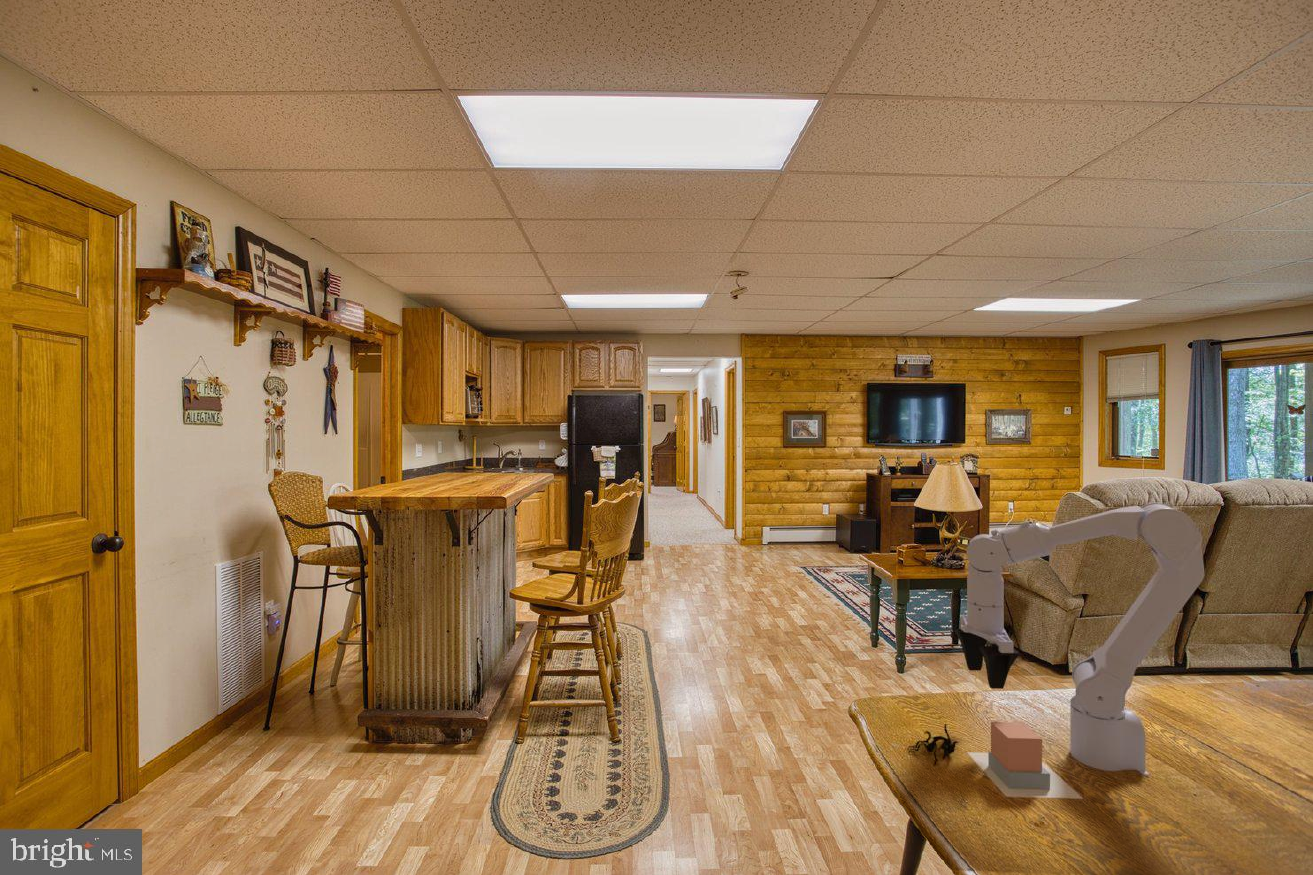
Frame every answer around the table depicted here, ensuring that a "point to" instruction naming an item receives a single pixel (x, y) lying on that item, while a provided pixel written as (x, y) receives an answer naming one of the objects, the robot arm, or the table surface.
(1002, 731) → the top brick
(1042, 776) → the base brick
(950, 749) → the creature
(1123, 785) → the table surface
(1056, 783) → the board
